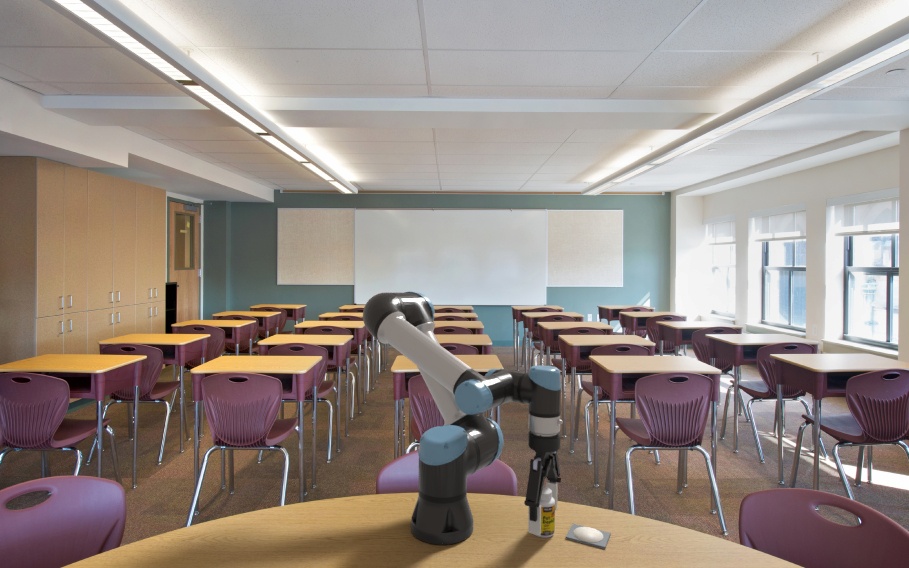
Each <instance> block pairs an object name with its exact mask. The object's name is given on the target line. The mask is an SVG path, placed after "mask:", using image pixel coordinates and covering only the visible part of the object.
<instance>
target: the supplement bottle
mask: <svg viewBox="0 0 909 568" xmlns="http://www.w3.org/2000/svg"><path fill="white" fill-rule="evenodd" d="M540 505H541V535H540V536H539V535H536V534H533V535H534V536H535V537H538V538H543V539H544V538H545V539H548V538H551V537H553V536H554V535H555V520H556V517H555V516H556V515H555V514H556V510H555V500H554V498H553V497H552V490H551V489H549V488H546V486H543V490H542V495H541V500H540Z"/></svg>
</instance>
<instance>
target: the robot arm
mask: <svg viewBox="0 0 909 568" xmlns="http://www.w3.org/2000/svg"><path fill="white" fill-rule="evenodd" d="M435 313H436V311H435V308H434V304H433V302H432V301H431V299H430V298H429V297H427V296H426V295H425V294H423V293H421V292H415V291H405V292H380V293H377V294H375V295H373V296H372V297H371V298H369V299H368V300H367V302H366V303H365V305H364V307H363V312H362V320H363V323H364V326H365V328H366V330H367V331H368V333H370V335H371V336H372V337H374V338H375V339H376V340H377V341H378V342H379V343H382V344H384V345H390V346H391V347H393V349H395V350H396V351H398V352H399V353H400V354H401V355H403V356H404V357H405V358H407V359H408V360H409V361H411V362H412V363H413V364H414V365H416V367H417V369H418V371H419V373H420V375H421V377H422V379H423V380H424V383H425V385H426V387H427V389H428V390H429V393H430V394H431V397H432V399H433V400H434V403H435V405H436V407H437V409H438V410H439V413H440V415H441V417H442V419H443V420H444V424H443V425H442V426H439V425H438V426H434V427H430V428H429V429H427V430H425V432H423V434H422V435H421V436H420V440H419V446H418V452H417V453H418V497H417V500H416V502H415V507H414V509H413V512H412V514H411V518H410V531H411V533H412V535H413V536H414V537H415V538H416V539H418V540H420V541H421V542H423V543H428V544H432V545H453V544H457V543H460V542H463V541H465V540H468V538H469V537H471V535H472V534H473V533H474V516H473V514H472V510H471V506H470V504H469V500H468V494H467V492H468V491H467V486H468V477H469V476H470V475H473V474H475V473H477V472H478V471H480V470H482V469H483V468H484V469H485V468H486V467H489V466H491V465H492V464H493V463H494V462H495V461H496V460H498V459H499V457H500V456H501V455H502V452H503V448H504V445H505V444H504V441H505V440H504V434H503V432H502V429H501V427H500V425H499V424H498V423H497V422H496V421H495V420H493V419H491V418H488V417H485V415H484V413H485V412H486V411H489V410H491V409H493V408H496V407H499V406H502V405H505V404H507V403H510V402H511V403H518V404H524V405H528V425H527V426H528V430H529V431H528V435H527V436H528V439H527V440H528V448H529V449H531V450H533V451H534V452H535V455H534V456H533V458H530V460H529V474H528V480H527V487H526V493H525V500H524V502H523V503H524V505H525V507H528V510H527V511H528V512H527V513H528V516H527V519H528V522H527V523H528V525H527V527H528V528H527V530H528V531H527V532H528V533H529V534H532V535H534V534H536V535H539V536H540V535H541V505H540V500H541V495H542V490H543V487H544V485H545V487H546V488H549V489H551V490H552V497H553V498H554V500H555V511H557V510H558V490H559V489H558V486H559V485H558V483H561V482H562V477H561V470H560V464H559V457H558V451H560V449H561V434H560V431H561V425H563V423H564V421H563V420H562V419H561V403H562V401H561V400H562V399H561V398H562V382H561V381H562V379H561V378H562V376H561V371H560V369H559V368H558V367H556V366H553V365H552V366H551V365H541V364H540V365H532V366H530V367H529V369H528V372H522V371H516V370H510V369H505V368H491V369H489V370H488V371H487V373H485V375H482V374H480V373H479V372H478V371H477V370H475V369H474V368H472V367H471V366H469V365H468V364H467V363H465V362H463V361H462V360H461V359H460V358H459V357H457V356H456V355H454V354H453V353H451V352H450V351H448V349H446V348H444V347H443V346H442V345H441V344H440V342H439V340H438V339H437V337H436V335H435V333H434V330H435V328H436V323H435ZM545 480H547V481H546V482H545ZM536 535H535V536H536Z"/></svg>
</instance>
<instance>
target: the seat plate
mask: <svg viewBox="0 0 909 568" xmlns="http://www.w3.org/2000/svg"><path fill="white" fill-rule="evenodd" d="M611 535H612V534H611V532H609V531H604V530H602V529H601V530H600V529H598V528H593V527H589V526H584V525H580V524H578V523H572V524H571V526H570V527H569V530H568V531H567V533H566V535H565V540H569V541H571V542H572V541H573V542H577V543H581V544H584V545H587V546H590V547H595V548H600V549H602V550H606V548H607V546H608V542H609V540H610V538H611Z"/></svg>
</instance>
